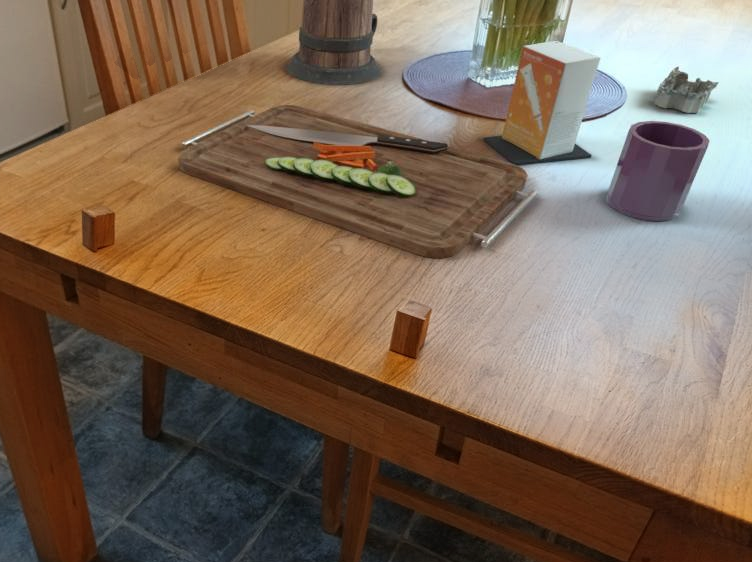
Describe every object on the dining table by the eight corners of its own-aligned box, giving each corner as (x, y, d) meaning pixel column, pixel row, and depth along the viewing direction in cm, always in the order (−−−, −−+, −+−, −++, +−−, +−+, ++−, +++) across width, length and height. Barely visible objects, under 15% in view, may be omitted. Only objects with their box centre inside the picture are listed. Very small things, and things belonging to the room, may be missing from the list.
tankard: (354, 91, 120) (367, -44, 107) (268, 72, 126) (270, -57, 114) (409, 56, 135) (426, -66, 123) (330, 41, 142) (338, -76, 129)
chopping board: (154, 162, 97) (152, 140, 95) (270, 106, 114) (270, 86, 112) (466, 271, 77) (471, 246, 75) (549, 183, 94) (556, 161, 92)
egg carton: (667, 89, 124) (676, 65, 121) (714, 100, 120) (724, 74, 117) (647, 105, 117) (656, 79, 115) (695, 116, 113) (706, 90, 111)
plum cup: (649, 186, 94) (675, 118, 88) (695, 217, 87) (726, 146, 82) (592, 192, 92) (614, 124, 86) (634, 224, 86) (661, 152, 80)
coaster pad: (555, 133, 107) (556, 130, 107) (591, 157, 101) (591, 154, 100) (483, 139, 105) (483, 137, 105) (514, 165, 98) (515, 162, 98)
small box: (500, 139, 104) (521, 44, 96) (533, 132, 106) (557, 39, 98) (539, 160, 98) (565, 62, 90) (573, 152, 101) (602, 56, 92)
